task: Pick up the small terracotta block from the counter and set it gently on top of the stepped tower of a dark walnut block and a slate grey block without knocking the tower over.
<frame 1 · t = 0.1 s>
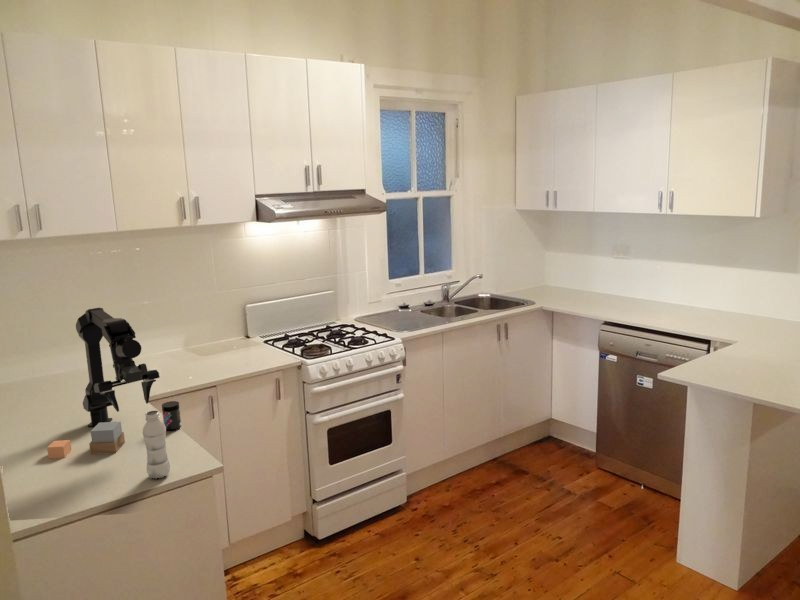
hand: (132, 407, 201), 15 cm above the worktop, fingers open, 9 cm apart
walnut base block: (108, 449, 208), on the worktop, touching slate top block
plastic bottle: (159, 476, 188), on the worktop
slate top block: (107, 437, 208), point 4 cm above the worktop, touching walnut base block
supplement container: (173, 428, 223), on the worktop
terracotta block: (60, 455, 205), on the worktop
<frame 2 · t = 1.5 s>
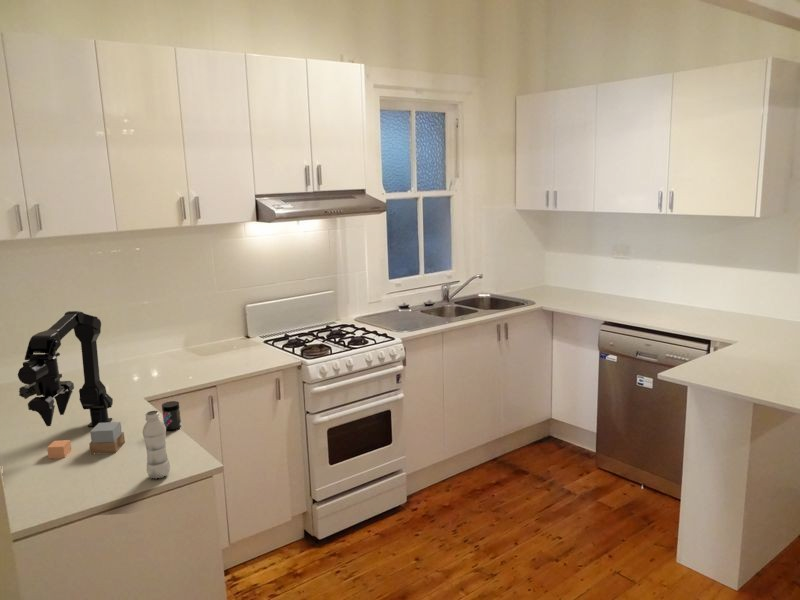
hand: (55, 420, 202), 12 cm above the worktop, fingers open, 9 cm apart
walnut base block: (108, 449, 209), on the worktop
slate top block: (107, 438, 207), point 4 cm above the worktop
everything else where it was.
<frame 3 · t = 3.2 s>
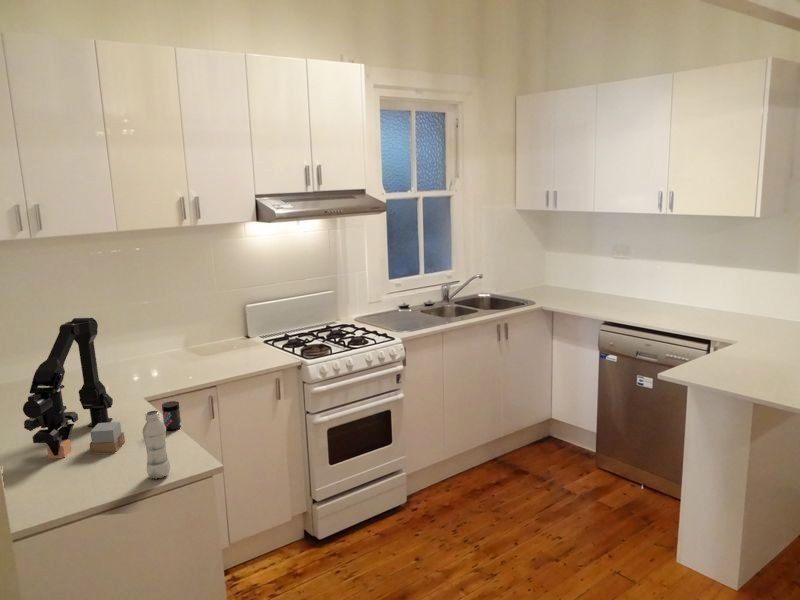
hand: (59, 451, 204), 1 cm above the worktop, fingers closed on terracotta block, 5 cm apart
walnut base block: (108, 449, 209), on the worktop, touching slate top block
slate top block: (106, 438, 208), point 4 cm above the worktop, touching walnut base block
terracotta block: (60, 454, 205), on the worktop, touching gripper
everything else where it was.
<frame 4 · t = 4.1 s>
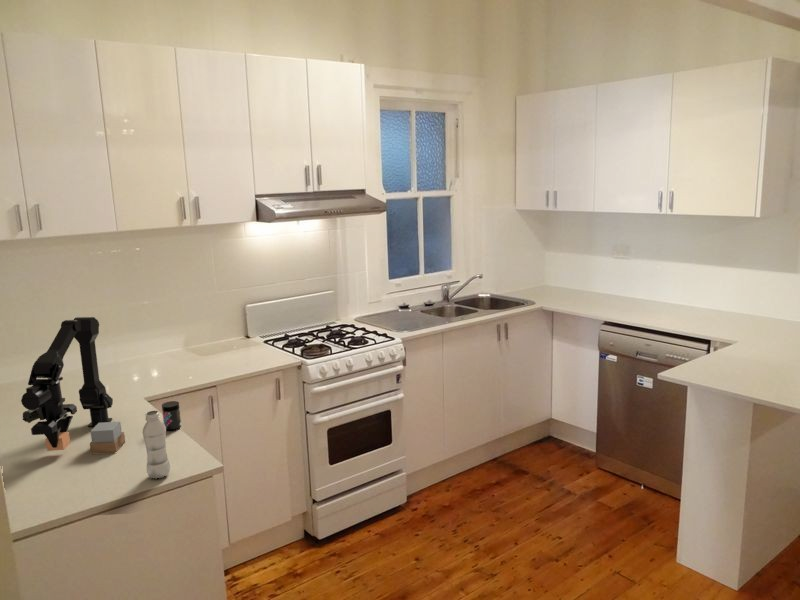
hand: (58, 443, 204), 4 cm above the worktop, fingers closed on terracotta block, 5 cm apart
terracotta block: (59, 446, 204), point 3 cm above the worktop, touching gripper
everything else where it was.
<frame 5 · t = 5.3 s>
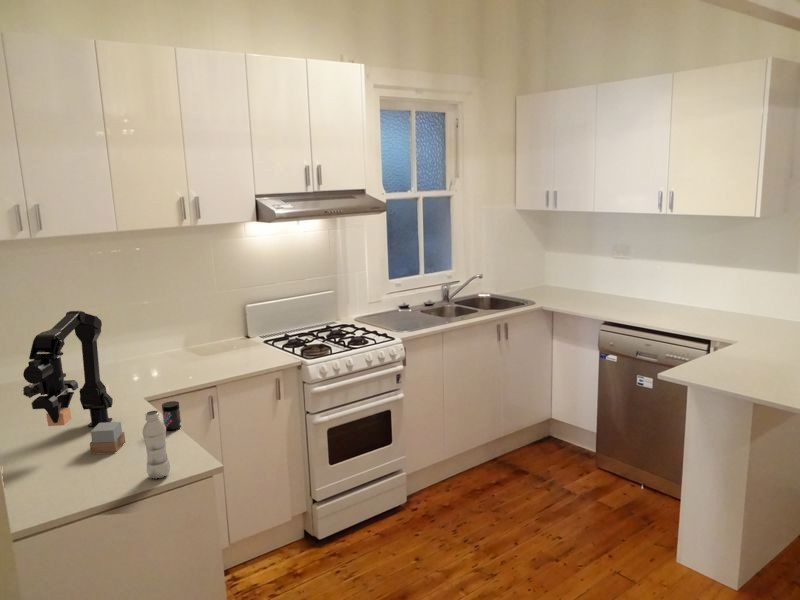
hand: (59, 419, 202), 12 cm above the worktop, fingers closed on terracotta block, 5 cm apart
terracotta block: (59, 422, 203), point 11 cm above the worktop, touching gripper
everything else where it was.
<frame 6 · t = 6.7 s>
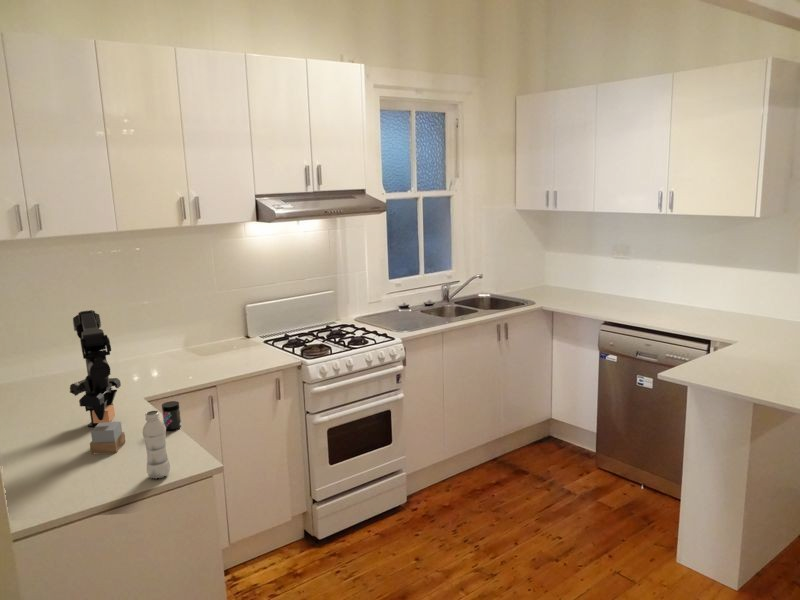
hand: (104, 416, 206), 11 cm above the worktop, fingers closed on terracotta block, 5 cm apart
terracotta block: (104, 419, 206), point 10 cm above the worktop, touching gripper
everything else where it was.
when the fingers open (10 cm above the worktop, at t = 7.2 s): terracotta block drops 1 cm, resting on slate top block.
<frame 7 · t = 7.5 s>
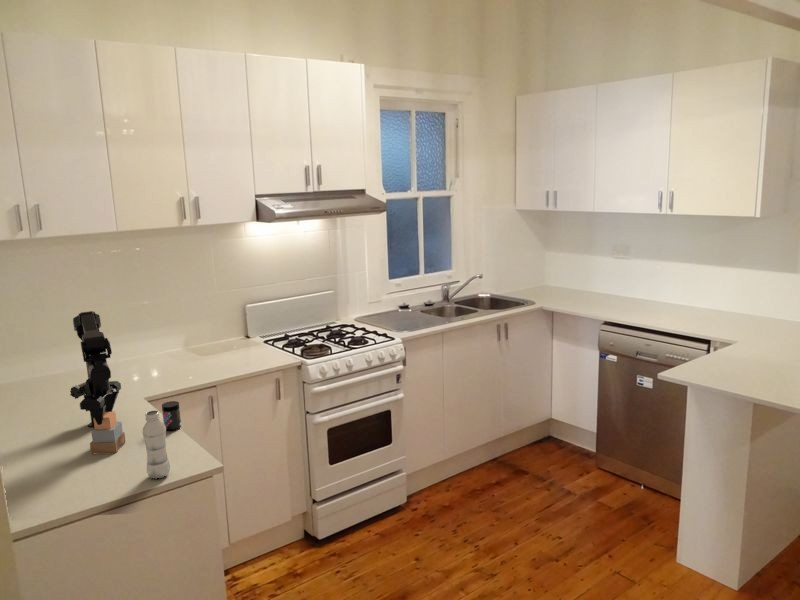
hand: (104, 419, 206), 10 cm above the worktop, fingers open, 8 cm apart
slate top block: (108, 437, 208), point 4 cm above the worktop, touching terracotta block, walnut base block
terracotta block: (105, 426, 207), point 8 cm above the worktop, touching slate top block
everything else where it was.
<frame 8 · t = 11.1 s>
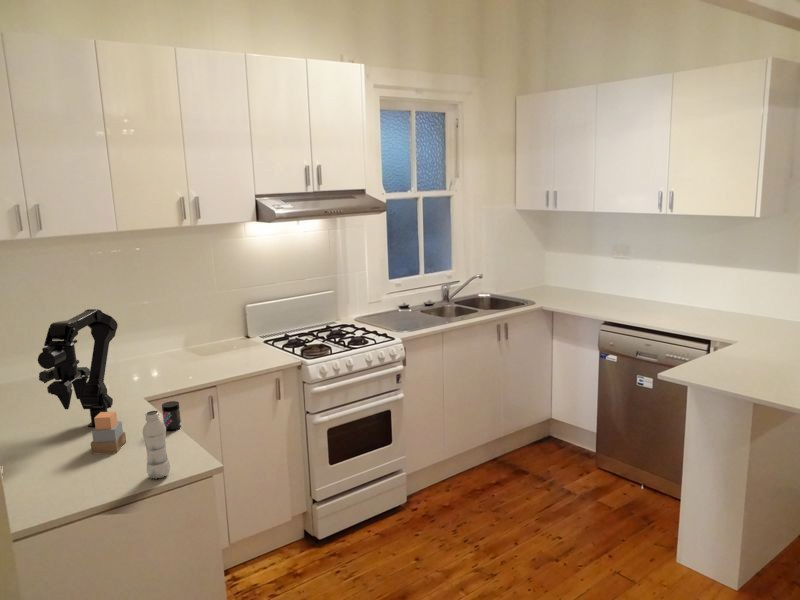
hand: (72, 404, 213), 13 cm above the worktop, fingers open, 9 cm apart
slate top block: (108, 437, 208), point 4 cm above the worktop, touching walnut base block
terracotta block: (106, 426, 207), point 8 cm above the worktop
everything else where it was.
at the end: terracotta block 0.1 cm off-centre on the slate top block, point 4.0 cm above the slate top block's base; slate top block 0.4 cm from the target spot, point 3.7 cm above the worktop; terracotta block tilted 0° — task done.
